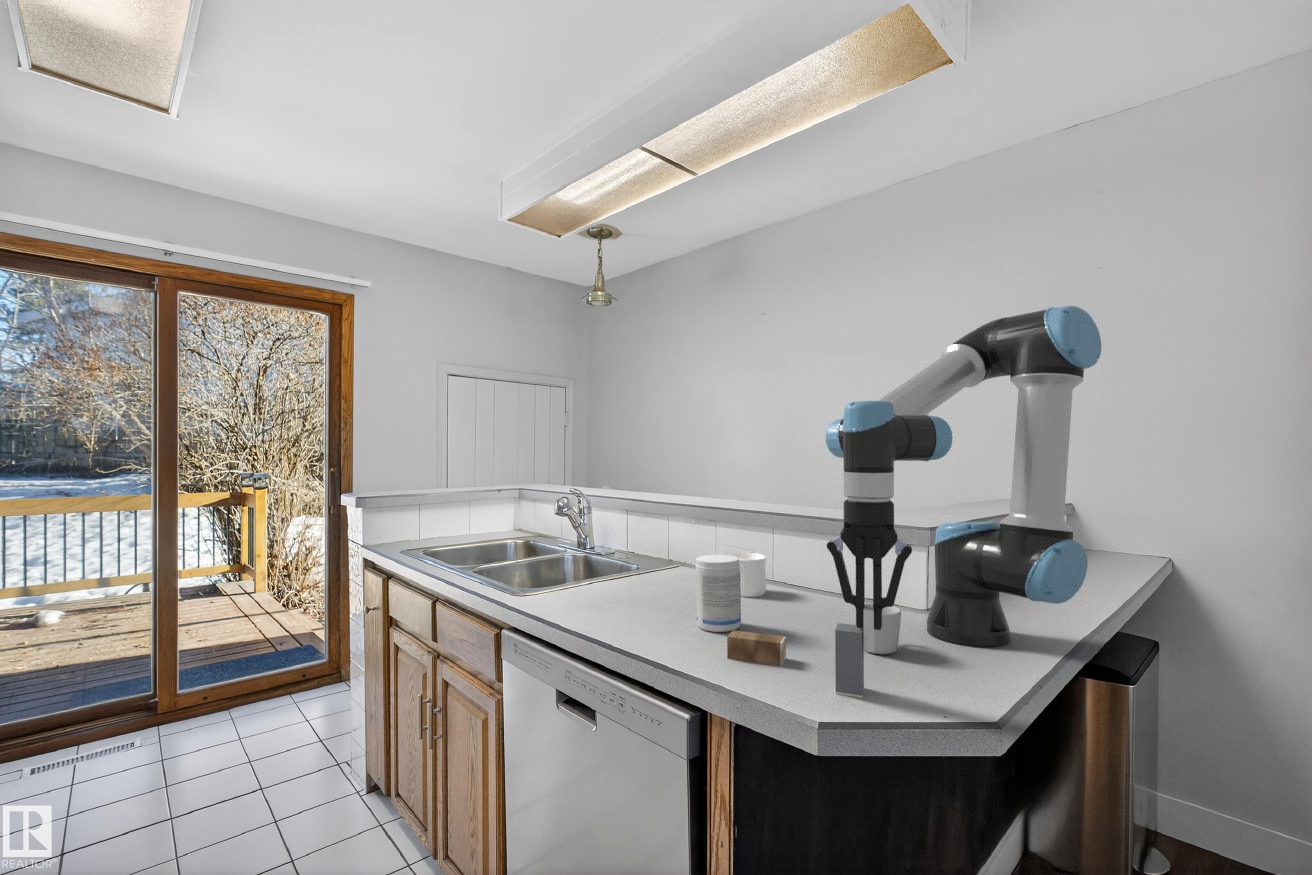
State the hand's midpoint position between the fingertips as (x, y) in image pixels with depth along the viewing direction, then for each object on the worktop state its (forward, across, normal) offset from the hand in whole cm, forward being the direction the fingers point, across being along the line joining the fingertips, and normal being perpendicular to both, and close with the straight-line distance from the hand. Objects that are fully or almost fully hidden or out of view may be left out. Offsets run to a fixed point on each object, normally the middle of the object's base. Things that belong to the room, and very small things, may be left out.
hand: (869, 648), depth 96 cm
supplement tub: (+7, +32, -25) cm, 41 cm away
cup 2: (+7, -1, -23) cm, 24 cm away
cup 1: (+7, +32, -56) cm, 65 cm away
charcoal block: (+7, +3, 0) cm, 8 cm away
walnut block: (+5, +15, -9) cm, 18 cm away
